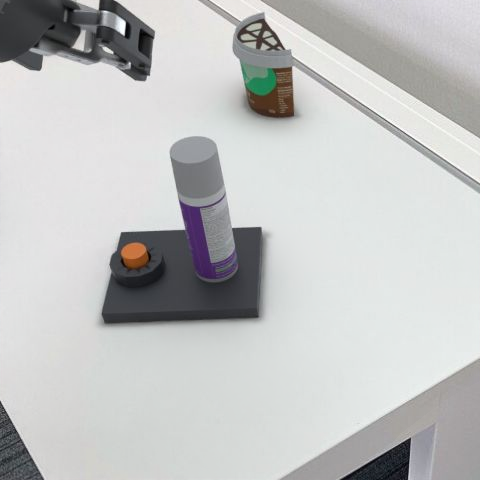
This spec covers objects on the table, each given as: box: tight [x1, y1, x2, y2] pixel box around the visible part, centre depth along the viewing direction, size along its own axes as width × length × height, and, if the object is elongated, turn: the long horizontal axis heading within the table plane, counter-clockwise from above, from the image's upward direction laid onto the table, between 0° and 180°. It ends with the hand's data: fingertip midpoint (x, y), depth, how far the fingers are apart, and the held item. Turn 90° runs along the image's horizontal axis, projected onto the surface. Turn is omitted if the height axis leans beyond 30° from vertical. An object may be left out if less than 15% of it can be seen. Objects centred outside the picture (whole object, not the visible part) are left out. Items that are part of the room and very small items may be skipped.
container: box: [168, 135, 238, 282], centre depth 77 cm, size 5×5×15 cm
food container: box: [231, 11, 295, 118], centre depth 103 cm, size 12×6×10 cm, turn 22°
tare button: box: [121, 243, 149, 269], centre depth 81 cm, size 3×3×2 cm
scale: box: [100, 226, 264, 324], centre depth 83 cm, size 16×13×3 cm
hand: (91, 62), depth 58 cm, fingers open, 8 cm apart
